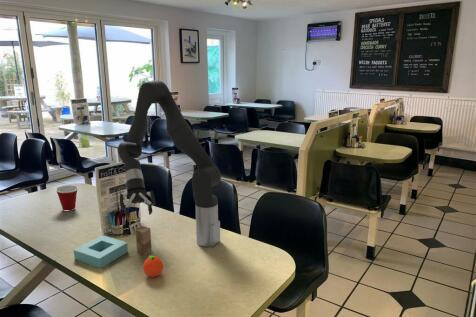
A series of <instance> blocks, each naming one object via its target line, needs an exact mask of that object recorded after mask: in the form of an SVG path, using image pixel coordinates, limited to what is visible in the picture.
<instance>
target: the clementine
mask: <svg viewBox="0 0 476 317" xmlns="http://www.w3.org/2000/svg"><path fill="white" fill-rule="evenodd" d="M142 266H143V267H142V269H143V272H144V274H145V275H146V276H148V277H151V278H152V277H153V278H154V277H156V276H159V275H160V274H161V273H162V271H163V270H164V269H163V268H164V263H163V260H162V259H161V257H158V256H156V255H151V254H150V255H149V256H147V258H146V259H145V260H144V262H143V265H142Z"/></svg>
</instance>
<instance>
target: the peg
mask: <svg viewBox="0 0 476 317" xmlns="http://www.w3.org/2000/svg"><path fill="white" fill-rule="evenodd" d="M135 239H136V242H135V243H136V253H137V254H140V255H143V256H146V255H148V254H149V253H151V252H153V251H152V250H153V249H152V236H151V228H150V227H147V226H144V225H143V226H140V227H139V228H137V229H135Z"/></svg>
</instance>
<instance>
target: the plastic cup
mask: <svg viewBox="0 0 476 317" xmlns="http://www.w3.org/2000/svg"><path fill="white" fill-rule="evenodd" d="M78 190H79V187H78V186H77V185H71V184H69V185H67V184H65V185H61V186H58V187H56V188H55V191H56V193H57V196H58V200H59V203H60V205H61V208H62V210H72V209H74V208H75V209H76V202H77V193H78ZM75 209H74V210H75ZM72 211H73V210H72Z"/></svg>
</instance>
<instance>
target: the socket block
mask: <svg viewBox="0 0 476 317" xmlns="http://www.w3.org/2000/svg"><path fill="white" fill-rule="evenodd" d="M128 252H129V247H128V242H126V241H123V240H120V239H117V238H112V237H110V236H106V235H100V236H97V237H96V238H94V239H92V240H91V241H88V242H87V243H84V244H82V245H80V246H78V247H76V248H75V249H73V256H74V260H76V261H79V262H80V263H81V262H82V263H84V264H87V265H89V266H93V267H96V268H98V269H102V268H103V267H106V266H107V265H109V264H110V263H111V262H114V260H116V259H118V258H120V257H122V256H123V255H124V254H126V253H128Z"/></svg>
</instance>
